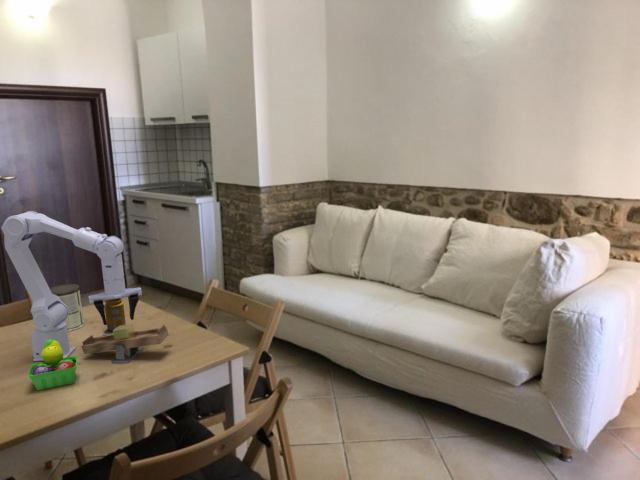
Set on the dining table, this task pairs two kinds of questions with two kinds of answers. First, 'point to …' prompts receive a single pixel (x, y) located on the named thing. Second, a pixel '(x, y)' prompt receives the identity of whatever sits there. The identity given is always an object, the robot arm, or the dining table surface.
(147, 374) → the dining table surface
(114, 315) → the condiment
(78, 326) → the coffee can
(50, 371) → the fruit basket
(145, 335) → the balance beam
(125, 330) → the wooden cube block
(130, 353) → the pivot stand
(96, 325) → the dining table surface
